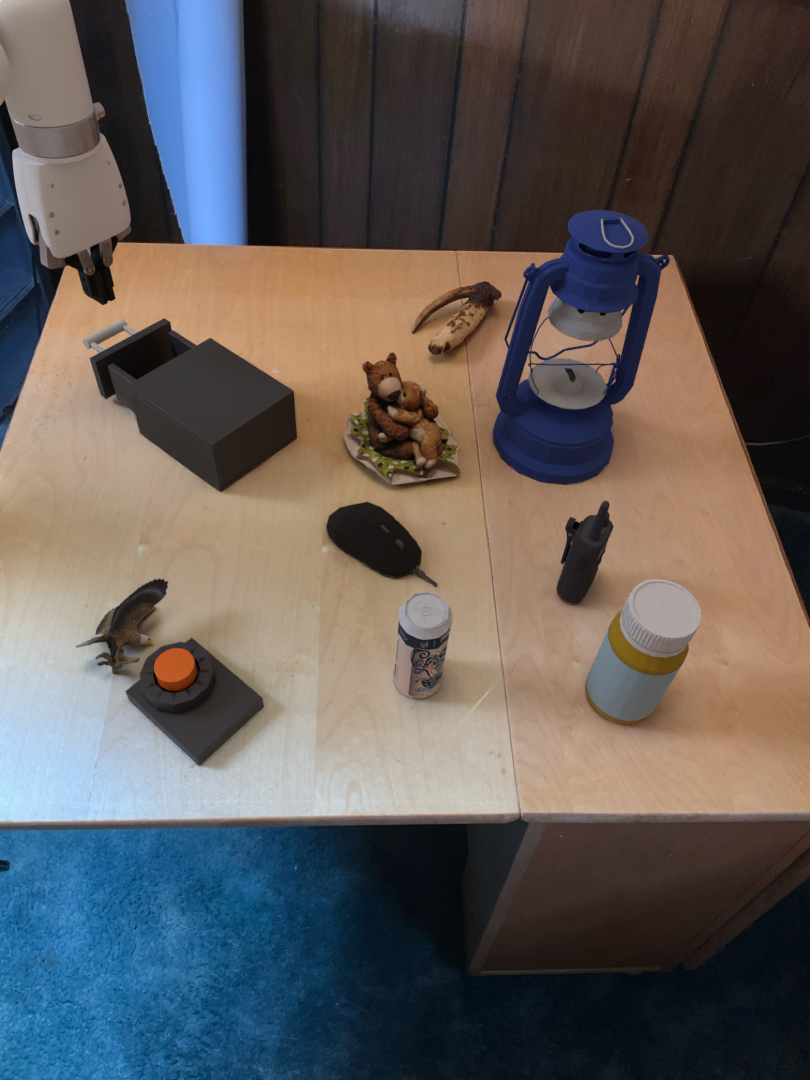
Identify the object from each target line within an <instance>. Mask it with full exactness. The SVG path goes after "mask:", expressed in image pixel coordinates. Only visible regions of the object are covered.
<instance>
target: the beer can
mask: <svg viewBox="0 0 810 1080" xmlns="http://www.w3.org/2000/svg"><path fill="white" fill-rule="evenodd" d="M397 616H398V625H397V636H396V649H395V660H394V669H393V673H392V677H393V678H392V679H393V682H394V685H395V686H396V688H397V690H398V691H399V692H401V694H403V695H405V696H407V697H409V698H413V699H425V698H428V697H430V696H432V695H433V694H435V693H436V692H437V691H438V690H439V688H440V687H441V685H442V681H443V679H442V678H443V673H444V672H443V671H444V666H445V660H446V656H447V650H448V644H449V638H450V632H451V627H452V624H453V616H454V615H453V611H452V609H451V607H450V605H449V604H448V603H447V602H446V601H445V600H444V598H443V597H442V596H440V595H438V594H436V593H433V592H431V591H423V592H416V593H413V595H411V596H410V597H408V598H406V599H405V601H404V602H403V603H402V604H401V606H400V607H399V610H398V615H397Z"/></svg>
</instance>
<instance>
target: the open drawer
mask: <svg viewBox="0 0 810 1080" xmlns="http://www.w3.org/2000/svg"><path fill="white" fill-rule="evenodd" d="M122 332H125V333H127V334H128V335H130V336H128V337H126V338H124V339H123V340H122V339H121V340H120V341H119V342H116V343H115V344H113V345H112V346H110V347H108V348H103V346H101V345H100V344H102V343H104V342H105V341H107V340H109V339H111V338H113V337H115V336H117V335H119V334H120V333H122ZM82 343H83V345H84V347H85V348H86V349H88V350H91V349H93V350H94V351H96V352H97V353H96V354H95V355H92V356H91V357H89V361H90V364H91V368H92V371H93V375H94V378H95V381H96V384H97V387H98V390H99V394H100V396H101V397H102V398H104V399H106V400H108V399H109V398H111V397H113V396H114V395H115V396H116V400H117V401H118V402H119V403H121V404H123V406H126V408H128V409H129V410H131V411H132V412H134V409H133V405H132V401H131V398H130V394H129V390H128V386H127V385H129V384H130V383H132V382H134V381H136V380H137V379H139V378H141V377H143V376H144V375H146V374H148V373H150V372H151V371H153V370H155V369H156V368H158V367H160V366H162V365H163V364H165V363H167V362H169V361H170V360H172V359H174V358H176V357H177V356H179V355H181V354H183V353H184V352H186V351H188V350H190V349H191V348H193V347H195V346H197V345H198V344H195V343H194V342H192V341H191V340H190V339H188V338H187V337H185V336H183V335H181V334H180V333H179V332H177V331H175V330H174V329H172V324H171V321H170V320H168V319H167V318H165V317H163V318H161V319H160V320H158V321H156V322H154V323H152V324H151V325H148V326H146V327H144V328H143V329H141V330H139V331H136V330H135V329H134V328H132V327H130V326H129V325H128V323H127V321H126V320H125V319H124V318H120V319H119V320H117V321H114V322H113V323H111V324H109V325H107V326H105V327H103V328H101V329H99V330H97V331H96V332H94V333H92V334H90V335H87V336H86V337H84V338H83V339H82Z"/></svg>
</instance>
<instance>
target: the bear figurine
mask: <svg viewBox="0 0 810 1080" xmlns="http://www.w3.org/2000/svg"><path fill="white" fill-rule="evenodd" d="M397 359H398V356H397V354H396V353H394V351H392V352H391V351H390V352H389V353H388V355H387V358H386V360H382V359H381V360H379V361H376V362H375V363H372V362H370V361H365V362H363V363H362V365H361V368H362V371H363V372H364V373H365V374H366V381H367V382H366V383H367V389H368V390H369V392H370V394H369V396H368V397H366V398H365V397H364V398H363V405H364V409H363V410H362V411H361V412H354V413H351V414H350V415H349V418H347V420H346V422H345V427H344V431H343V435H342V438H343V441H344V444H345V446H346V448H347V451H348V452H349V455H350V456H351V457H352V458H353V459H354V460H357V461H359V462H360V463H362V464H363V465H364V466H366V468H368V469H369V470H370V471H371V472H373V473H374V474H376V475H377V476H378V477H380V478H381V479H383V480H384V481H385V482H387V483H388V484H389V485H405V484H413V483H422V482H425V481H429V480H436V479H444V478H452V477H459V476H460V475H462V472H461V469H460V468H459V465H458V463H459V451H460V449H461V447H460V445H459V443H458V442H457V440H456V438H455V436H454V435H453V432H452V429H450V427H448V425H446V423H445V422H444V421H443V420H442V418H441V417H440V416H439V413H440V412H439V406H438V405H437V404H436V403H435V402H434V401H433V400H432V399H430V398H429V397H428V396H427V390H426V389H427V388H425V387H421V385H419V384H418V383H417V382H414V381H412V380H407V381H406V380H403V379H402V377H401V374H400V372H399V369H398V367H397Z"/></svg>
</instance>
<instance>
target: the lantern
mask: <svg viewBox="0 0 810 1080" xmlns="http://www.w3.org/2000/svg"><path fill="white" fill-rule="evenodd" d="M567 231H568V232H569V234H570V235H571V237H570V238H569V239H568V240H567V242H566V244H565V246H564V250H563V253H562V254H561V255H560V257H558V258H557V257H556V258H553V259H550V260H547V261H545V262H543V263H542V264H541V265H539V266H538V267H536V263H535V262H531V263H530V265H529V266H527V267H526V268H525V270H523V274H522V276H523V278H524V282H523V285H522V288H521V291H520V293H519V296H518V299H517V302H516V304H515V307H514V310H513V313H512V316H511V318H510V321H509V324H508V327H507V330H506V332H505V335H504V338H503V339H504V342H505V345H506V348H507V352H506V356H505V360H504V363H503V367H502V371H501V374H500V377H499V381H498V385H497V389H496V393H495V398H496V401H497V404H498V407H499V413H498V414H497V416H496V419H495V422H494V425H493V429H492V443H493V445H494V447H495V450H496V451H497V454H498V455H499V457H500V459H501V460H502V461H503V462H505V463H506V464H507V465H508V466H510V467H511V468H512V469H513V471H516V473H518V474H521V475H523V476H525V477H528V478H530V479H533V480H535V481H538V482H540V483H547V484H548V483H549V484H556V485H570V484H579V483H582V482H585V481H588V480H590V479H592V478H595V477H597V476H598V475H599V474H600V473H601V472H602V471H603V470H604V469H605V468H606V467H607V466H608V465H609V464H610V461H611V457H612V454H613V451H614V445H615V440H614V433H613V431H612V429H613V425H614V411H613V409H612V406H614V405H617V404H619V403H621V402H622V401H623V400H624V399H625V398H626V397H627V395H628V394H629V393H630V392H631V390H632V389H633V387H634V386H635V381H636V377H637V374H638V369H639V366H640V362H641V359H642V355H643V351H644V348H645V343H646V339H647V337H648V333H649V329H650V325H651V320H652V317H653V313H654V310H655V306H656V302H657V299H658V294H659V288H660V287H659V286H660V281H661V274H662V271H663V269H666V267H668V266H669V264H670V262H671V258H670V256H669V254H668V253H663V254H662V255H660V256H658V257H654V256H653V255H652V254H650V253H647V252H639V250H640V249H642V248H644V247H645V246H646V245H647V243H648V242H649V240H650V237H649V231H648V229H647V228H646V227H645V226H644V225H643V223H641V222H640V221H639V220H637V219H636V218H634V217H632V216H629V215H627V214H624V213H620V212H618V211H616V210H615V211H614V210H605V209H591V210H585V211H581V212H577V213H576V214H574V215H573V216H571V217H570V219H569V220H568V221H567ZM664 260H665V261H664ZM549 288H550V290H551V292H552V294H553V295H554V296H555V297H554V299H553V301H551V304H550V306H549V307H548V309H547V317H545V318H544V319H543V321H542V322H541V323H540V325H539V320H540V317H541V314H542V311H543V308H544V306H545V305H544V304H545V301H546V298H547V295H548V292H549ZM630 307H631V310H630V315H629V319H628V324H627V328H626V332H625V335H624V342H623V346H622V350H621V354H620V353H617V351H616V349H615V347H614V344H613V342H612V338H614V337H615V336H617V335H618V334H619V333H620V331H621V329H622V327H623V317H624V315H625V314H626V313H627V311H628V309H629V308H630ZM516 315H517V316H516ZM547 320H549V323H550V325H551V326H552V327H553V328H554V329H556V331H558V332H560V334H563V335H565V337H570V338H573V339H574V340H579V341H584V342H591V343H588V344H583V345H577V346H576V345H575V346H572V347H566V348H563V349H561V350H558V352H556V353H554V354H553V355H550V356H548V357H543V356H541V355H540V354H539V352H537V351H535V350H533V345H534V342H535V339H536V337H537V335H538V332H539V331H540V328H542V326H543V324H545V321H547ZM514 321H515V322H514ZM513 324H514V326H513ZM538 325H539V326H538ZM512 326H513V330H512ZM511 330H512V334H511V337H510V341H508V337H509V334H510V332H511ZM605 340H608V342H609V343H610V345H611V347H612V350H613V352H614V355H615V359H616V360H615V362H611V363H599V362H598V363H597V362H596V363H584V362H582V361H580V360H575V359H571V358H563V357H562V358H561V357H560V358H559V357H558V356H559V355H560V356H561V354H563V353H565V352H568V351H573V350H580V349H585V348H591V347H592V346H595V345H596V344H597V343H599V342H603V341H605ZM531 355H535V356H536V357H537V358H538V360H540V361H541V362H532V356H531ZM528 358H529V362H528V363H527V359H528ZM526 363H527V366H528V367H529V369H530V370H529V374H528V378H526V379H523V380H522V381H521V379H522V376H523V373H524V369H525V366H526ZM532 365H534V366H533V367H532ZM593 366H598V367H597V368H596V369H595V368H594V367H593ZM605 366H612V368H611V371H610V374H609V377H608V381H607V382H606V381H605V378H604V377H603V376H602V374H600V372H599V371H598V370H600V369H601V367H605Z"/></svg>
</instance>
